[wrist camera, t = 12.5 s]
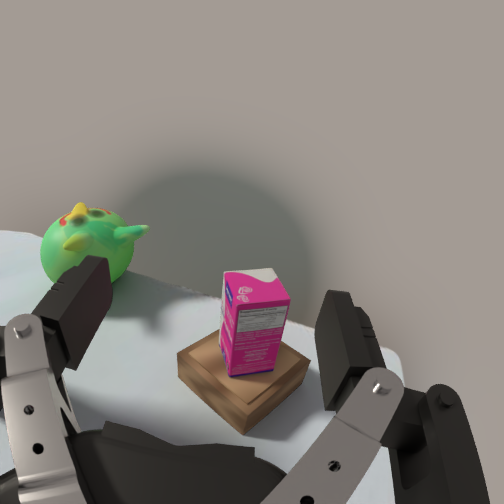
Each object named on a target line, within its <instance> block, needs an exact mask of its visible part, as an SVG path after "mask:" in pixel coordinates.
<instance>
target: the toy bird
mask: <svg viewBox="0 0 504 504" xmlns="http://www.w3.org/2000/svg"><path fill="white" fill-rule="evenodd" d="M149 230H150V227H149V226H147V225H137V226H128V225H127V224H126V222H125V221H124V220H123V219H122V218H121V217H119V216H118V215H116V214H115V213H113V212H111V211H108V210H105V209H100V208H87V207H86V206H85V204H83V203H82V202H80V203H78V204H77V205H76V206H75V207H74V209H73V211H72V212H70V213H68V214H66V215H64V216H62V217H61V218H59V219H58V220H57V221H55V222H54V223H53V224H52V225H51V226H50V228H49V229H48V230H47V232H46V234H45V236H44V238H43V240H42V244H41V250H40V256H41V262H42V266H43V268H44V271H45V272H46V274H47V276H48V277H49V278H50V280H51V281H52V282H53V283H56V282H57V280H58V279H59V277H60V276H61V275H62V274H63V273H64V272H65V271H67V270H68V269H70V268H72V267H73V266H78V265H79V264H80V263H81V262H82V260H83V259H84V258H85V257H86V256H87V255H93V256H99V257H105V258H107V259H108V262H109V269H110V277H111V283H113V282H114V281H115V280H116V279H118V278H119V277H120V276H121V275H122V274H123V273H124V271H125V270H126V269H127V267H128V265H129V264H130V262H131V259H132V256H133V252H134V241H135V240H137V239H139V238H140V237H142V236H143V235H145V234H146V233H147V232H148V231H149Z"/></svg>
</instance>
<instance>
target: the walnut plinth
mask: <svg viewBox="0 0 504 504" xmlns="http://www.w3.org/2000/svg"><path fill="white" fill-rule="evenodd" d="M219 331H220V329H218V330H217V331H215V332H213V333H211V334H210V335H208V336H206V337H205V338H203V339H201V340H199V341H198V342H196V343H194V344H192V345H190V346H189V347H187V348H185V349H183V350H182V351H180V352H178V353H177V362H178V377H179V378H180V379H181V380H182V381H183V382H184V383H185V384H186V385H187V386H188V387H189V388H190V389H191V390H192V391H193V392H194V393H195V394H196V395H197V396H198V397H200V398H201V399H202V400H203V401H204V402H205V403H206V404H207V405H208V406H209V407H210V408H212V409H213V410H214V411H215V412H216V413H217V414H218V415H219V416H221V417H222V418H223V419H224V420H225V421H226V422H228V423H229V424H230V425H231V426H232V427H233V428H235V429H236V430H237V431H238V432H239V433H241V434H242V435H244V434H245V433H246V432H248V431H249V430H250V429H251V428H252V427H254V426H255V425H256V424H257V423H258V422H259V421H261V420H262V419H263V418H264V417H265V416H266V415H268V414H269V413H270V412H271V411H272V410H273V409H274V408H276V407H277V406H278V405H279V404H280V403H281V402H282V401H283V400H284V399H286V398H287V397H288V396H289V395H290V394H291V393H292V392H293V391H294V390H295V389H296V388H297V387H299V386H300V385H301V384H302V382H303V379H304V377H305V374H306V372H307V369H308V366H309V364H310V361H311V360H309V359H308V358H306V357H305V356H303V355H302V354H300V353H299V352H297V351H296V350H294V349H293V348H291V347H290V346H288V345H287V344H285V343H284V342H282V341H281V343H280V346H279V350H278V354H277V358H276V362H275V366H274V371H271V372H264V373H257V374H250V375H243V376H236V377H229V376H228V372H227V368H226V365H225V361H224V358H223V355H222V352H221V349H220V346H219Z"/></svg>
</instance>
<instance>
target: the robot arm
mask: <svg viewBox="0 0 504 504" xmlns="http://www.w3.org/2000/svg"><path fill="white" fill-rule="evenodd" d="M112 295H113V292H112V284H111V277H110V269H109V262H108V259H107V258H105V257H99V256H93V255H87V256H86V257H85V258H84V259H83V260H82V262H81V263H80V264H79V265H78V266H73V267H72V268H70V269H68V270H67V271H65V272H64V273H63V274H62V275H61V276H60V277H59V279H58V280H57V282H56V283H55V284H54V285H53V286H52V287H51V290H49V291H48V292H47V294H46V295H45V296H44V297H43V299H42V300H41V301H40V302H39V304H38V305H37V306H36V308H35V309H34V310H33V312H32V313H31V314H21V315H18V316H16V317H14V318H13V319H11V320H10V321H9V322H8V324H7V325H6V326H0V411H1V408H2V407H4V414H5V421H6V427H7V432H8V438H9V443H10V447H11V452H12V456H13V461H14V465H15V468H14V469H12V470H10V471H8V472H6V473H5V474H3V475H1V476H0V504H346V502H347V501H348V500H349V498H350V497H351V495H352V494H353V492H354V491H355V489H356V487H357V486H358V484H359V483H360V481H361V480H362V478H363V476H364V475H365V473H366V472H367V470H368V468H369V467H370V465H371V463H372V461H373V460H374V458H375V456H376V455H377V453H378V451H379V449H380V447H381V446H383V447H388V450H389V456H390V463H391V471H392V478H393V486H394V495H395V504H490V501H489V496H488V491H487V487H486V483H485V478H484V474H483V471H482V467H481V463H480V459H479V455H478V452H477V448H476V445H475V442H474V438H473V435H472V432H471V429H470V425H469V422H468V419H467V416H466V413H465V411H464V408H463V405H462V402H461V399H460V397H459V396H458V394H457V393H456V392H455V391H454V390H453V389H452V388H450V387H449V386H446V385H443V384H436V385H433V386H431V387H430V389H429V390H428V391H427V392H426V393H424V392H420V391H416V390H412V389H408V388H405V387H404V386H403V383H402V381H401V379H400V378H399V377H398V376H397V375H396V374H395V373H394V372H392V371H390V370H388V369H387V368H386V365H385V362H384V359H383V356H382V353H381V350H380V347H379V344H378V341H377V339H376V338H375V337H376V336H375V333H374V330H373V329H372V328H373V327H372V324H371V322H370V319H369V316H368V315H367V314H366V313H365V312H364V311H363V310H362V308H361V307H354V305H353V302H352V299H351V296H350V293H349V292H344V291H335V290H328V291H327V293H326V295H325V298H324V301H323V304H322V307H321V310H320V313H319V316H318V318H317V321H316V325H315V343H316V350H317V357H318V363H319V370H320V377H321V385H322V392H323V399H324V407H325V411H336V416H334V417H333V419H332V420H331V421H330V423H329V424H328V425H327V427H326V428H325V429H324V430H323V432H322V433H321V434H320V436H319V437H318V438H317V439H316V441H315V442H314V443H313V444H312V446H311V447H310V448H309V449H308V451H307V452H306V453H305V454H304V455H303V457H302V458H301V459H300V460H299V461H298V463H297V464H296V465H295V466H294V467H293V468H292V470H291V471H290V472H289V473H288V474H286V473H285V472H284V471H283V470H281V469H280V468H278V467H277V466H275V465H273V464H272V463H270V462H268V461H265V460H263V459H261V458H257V457H254V453H255V447H244V446H234V445H225V444H217V443H216V444H204V445H188V446H176V445H172V444H170V443H168V442H166V441H163V440H161V439H159V438H157V437H155V436H152V435H150V434H148V433H146V432H144V431H142V430H140V429H136V428H132V427H128V426H124V425H120V424H116V423H113V422H109V421H105V424H104V427H103V430H101V429H99V430H88V431H83V432H82V431H81V429H80V427H79V425H78V423H77V420H76V418H75V415H74V412H73V409H72V405H71V402H70V399H69V395H68V392H67V388H66V385H65V381H64V378H63V375H62V372H63V371H64V369H65V367H66V368H69V369H72V370H77V368H78V366H79V364H80V362H81V360H82V358H83V356H84V354H85V352H86V350H87V348H88V346H89V345H90V343H91V341H92V339H93V337H94V335H95V333H96V331H97V330H98V328H99V326H100V324H101V322H102V320H103V319H104V317H105V315H106V313H107V311H108V310H109V308H110V306H111V302H112Z"/></svg>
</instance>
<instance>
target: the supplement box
mask: <svg viewBox="0 0 504 504" xmlns="http://www.w3.org/2000/svg"><path fill="white" fill-rule="evenodd" d="M290 301H291V299H290V297H289V295H288V294H287V292H286V290H285V289H284V287H283V285H282V284H281V282H280V280H279V279H278V277H277V275H276V274H275V272H274V270H273V269H272V268H267V269H257V270H243V271H227V272H224V280H223V291H222V304H221V317H220V331H219V346H220V349H221V352H222V355H223V358H224V361H225V365H226V368H227V372H228V376H229V377H236V376H243V375H250V374H257V373H264V372H271V371H274V366H275V362H276V358H277V354H278V350H279V346H280V343H281V338H282V334H283V330H284V326H285V322H286V318H287V314H288V309H289V305H290Z"/></svg>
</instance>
